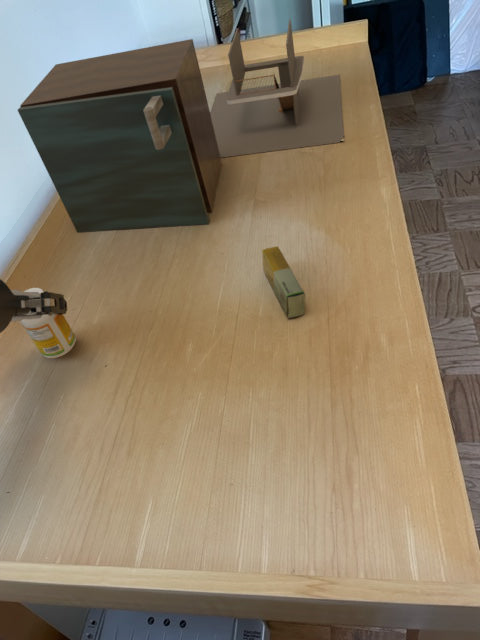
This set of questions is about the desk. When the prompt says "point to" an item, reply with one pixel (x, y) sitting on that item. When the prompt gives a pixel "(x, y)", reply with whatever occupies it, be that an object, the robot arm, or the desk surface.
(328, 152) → the desk surface
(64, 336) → the supplement bottle
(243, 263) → the desk surface
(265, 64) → the grey brown stand-shaped piece
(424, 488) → the desk surface
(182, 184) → the door
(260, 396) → the desk surface
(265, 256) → the medication box
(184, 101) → the cupboard
